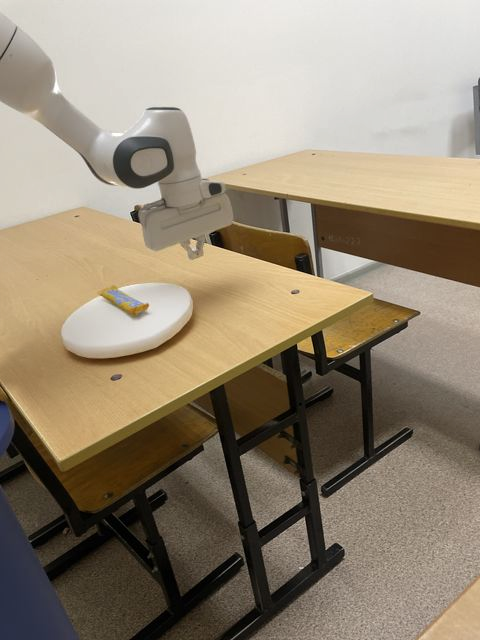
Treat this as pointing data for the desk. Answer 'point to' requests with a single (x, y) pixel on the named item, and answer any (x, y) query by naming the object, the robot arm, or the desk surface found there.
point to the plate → (127, 322)
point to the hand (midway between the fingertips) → (196, 257)
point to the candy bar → (123, 300)
